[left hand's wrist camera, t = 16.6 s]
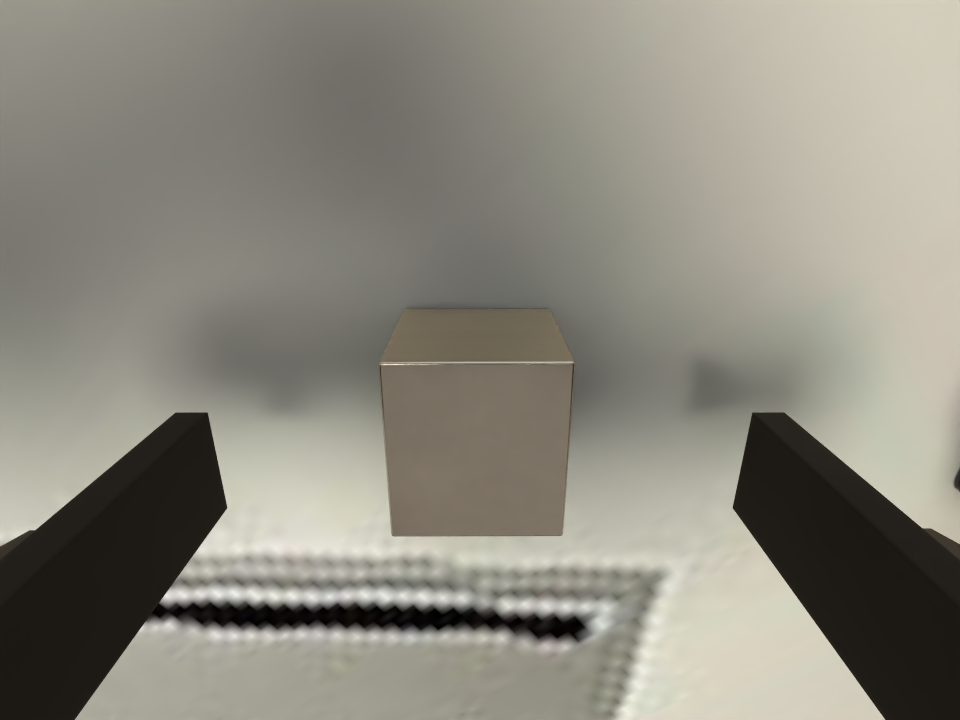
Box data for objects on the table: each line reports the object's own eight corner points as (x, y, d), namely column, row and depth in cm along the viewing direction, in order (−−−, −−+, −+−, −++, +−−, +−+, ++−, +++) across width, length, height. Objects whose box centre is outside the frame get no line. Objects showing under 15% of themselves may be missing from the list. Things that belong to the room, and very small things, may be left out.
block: (411, 449, 18) (391, 537, 14) (403, 308, 16) (377, 362, 12) (543, 448, 18) (563, 536, 14) (551, 308, 16) (575, 361, 12)
